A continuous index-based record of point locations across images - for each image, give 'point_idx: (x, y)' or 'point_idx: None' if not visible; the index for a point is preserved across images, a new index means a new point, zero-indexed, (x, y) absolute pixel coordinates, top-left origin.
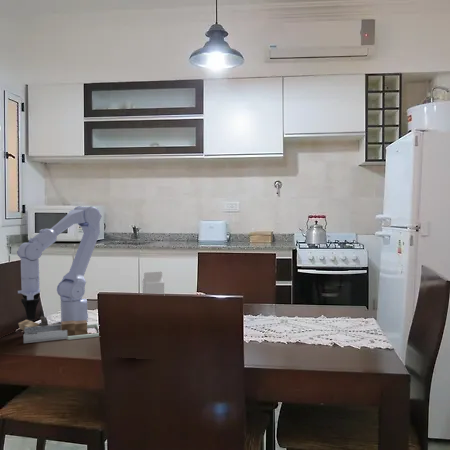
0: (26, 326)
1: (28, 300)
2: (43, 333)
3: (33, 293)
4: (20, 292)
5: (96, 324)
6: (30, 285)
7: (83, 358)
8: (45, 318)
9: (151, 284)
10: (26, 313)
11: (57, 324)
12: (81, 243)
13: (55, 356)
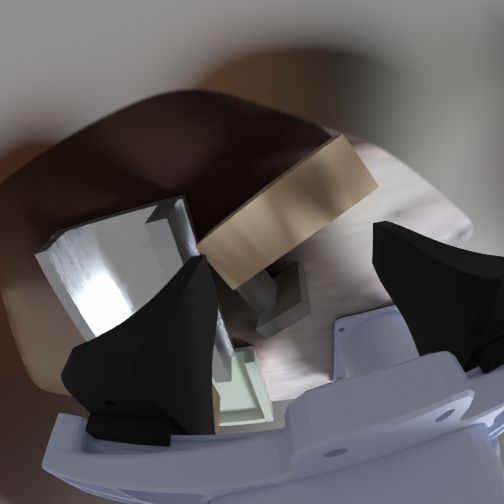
0: (243, 207)
1: (97, 413)
2: (76, 324)
3: (109, 498)
4: (285, 449)
5: (263, 419)
6: None
7: (28, 373)
8: (261, 332)
9: None
10: (168, 283)
11: (217, 360)
12: None
13: (14, 332)
